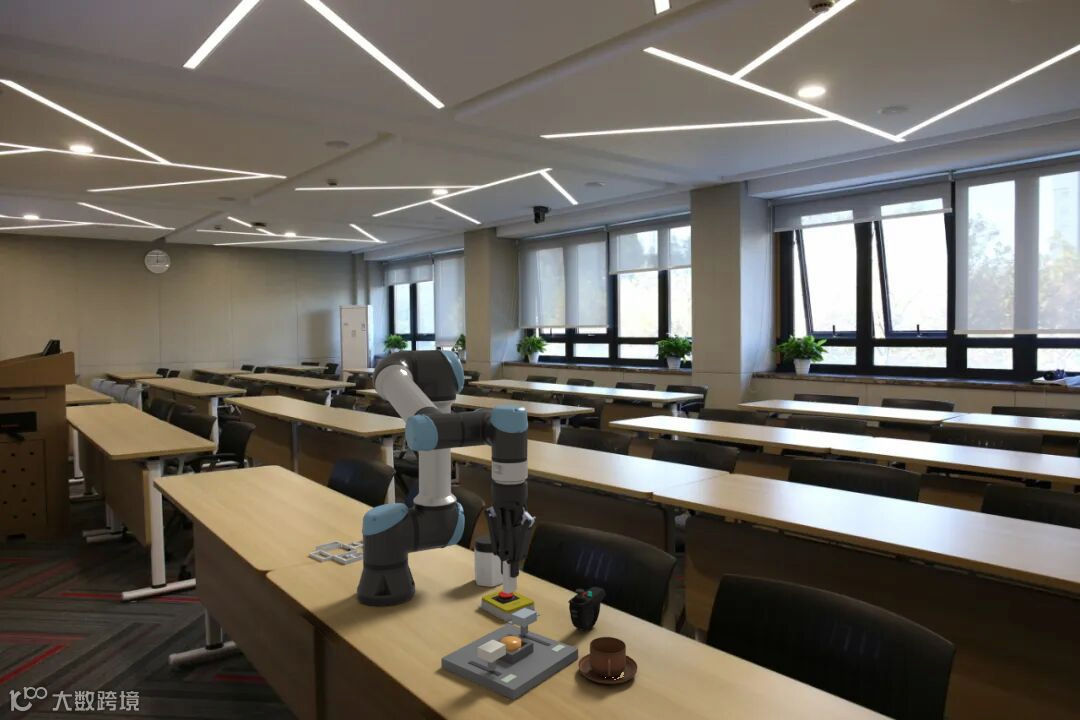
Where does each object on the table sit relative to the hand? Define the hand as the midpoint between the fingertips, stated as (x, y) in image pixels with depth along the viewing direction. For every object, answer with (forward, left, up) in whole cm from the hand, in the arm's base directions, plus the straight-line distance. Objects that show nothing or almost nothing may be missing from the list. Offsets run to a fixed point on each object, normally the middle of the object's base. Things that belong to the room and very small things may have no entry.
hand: (509, 590), depth 143 cm
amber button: (0, 0, -13) cm, 13 cm away
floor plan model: (-87, +18, -16) cm, 90 cm away
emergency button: (-18, +20, -16) cm, 31 cm away
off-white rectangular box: (+2, -8, -13) cm, 16 cm away
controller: (+3, +24, -16) cm, 29 cm away
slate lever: (-3, +8, -13) cm, 16 cm away
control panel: (0, 0, -15) cm, 15 cm away
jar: (-35, +31, -16) cm, 49 cm away
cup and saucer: (+19, +9, -16) cm, 26 cm away
